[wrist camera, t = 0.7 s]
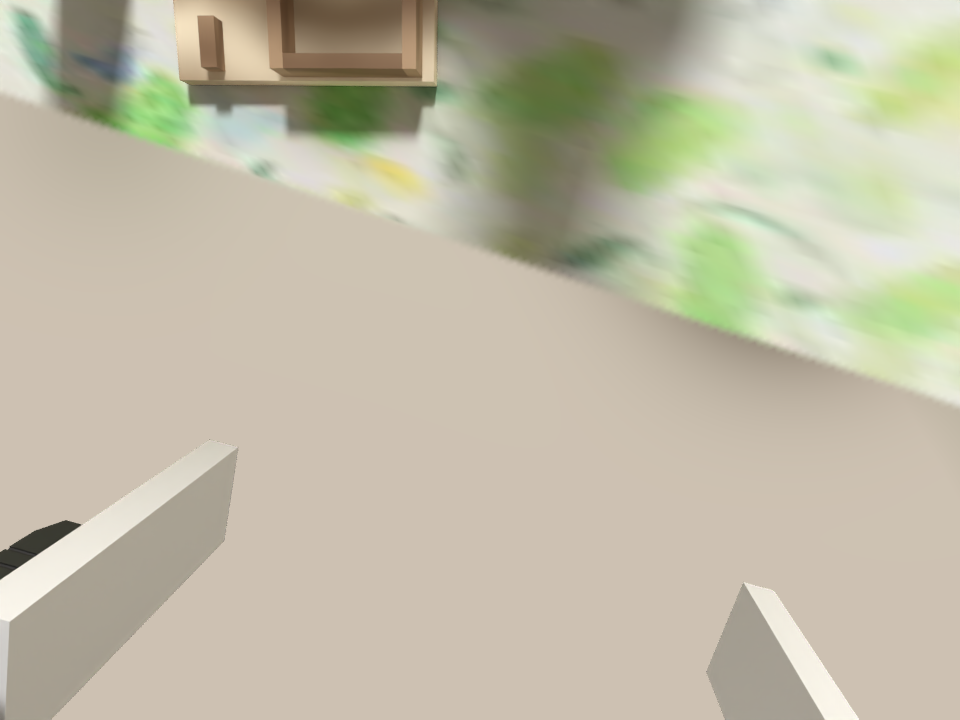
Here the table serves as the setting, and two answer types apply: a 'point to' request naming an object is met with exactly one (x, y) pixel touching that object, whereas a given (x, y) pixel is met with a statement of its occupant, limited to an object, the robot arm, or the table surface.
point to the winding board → (307, 42)
